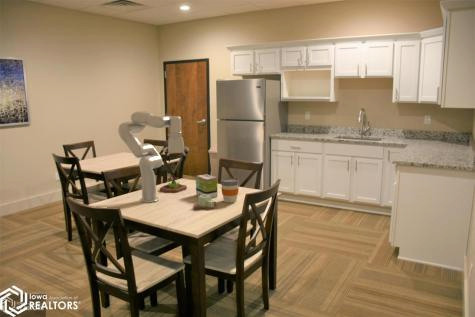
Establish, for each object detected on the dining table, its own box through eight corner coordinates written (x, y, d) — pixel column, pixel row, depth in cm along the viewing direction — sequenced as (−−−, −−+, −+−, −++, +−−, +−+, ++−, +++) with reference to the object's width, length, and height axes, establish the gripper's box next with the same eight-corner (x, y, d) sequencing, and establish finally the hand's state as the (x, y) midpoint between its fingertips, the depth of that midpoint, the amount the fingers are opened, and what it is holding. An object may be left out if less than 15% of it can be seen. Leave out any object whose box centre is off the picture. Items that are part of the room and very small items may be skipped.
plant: (155, 192, 291) (155, 178, 290) (167, 186, 310) (167, 173, 308) (179, 194, 285) (178, 179, 284) (190, 188, 304) (189, 174, 302)
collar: (198, 204, 251) (198, 196, 250) (205, 203, 255) (205, 194, 254) (209, 208, 244) (208, 199, 243) (215, 206, 248) (215, 197, 247)
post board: (195, 203, 258) (195, 196, 257) (215, 203, 259) (215, 195, 258) (193, 209, 244) (193, 201, 243) (215, 209, 245) (215, 201, 244)
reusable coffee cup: (237, 203, 257) (236, 182, 254) (219, 203, 259) (218, 181, 257) (240, 199, 269) (240, 178, 266) (223, 198, 271) (223, 177, 269)
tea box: (195, 194, 281) (195, 175, 279) (207, 192, 287) (206, 173, 285) (206, 199, 269) (205, 178, 267) (218, 196, 275) (217, 177, 273)
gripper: (161, 136, 242) (162, 162, 245) (188, 135, 243) (189, 162, 245) (163, 134, 249) (164, 160, 252) (189, 134, 250) (190, 160, 253)
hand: (176, 161), depth 249 cm, fingers open, 9 cm apart
